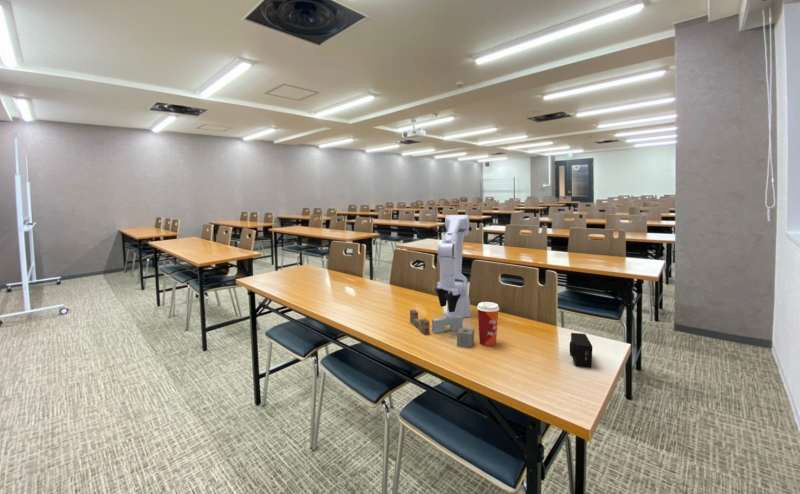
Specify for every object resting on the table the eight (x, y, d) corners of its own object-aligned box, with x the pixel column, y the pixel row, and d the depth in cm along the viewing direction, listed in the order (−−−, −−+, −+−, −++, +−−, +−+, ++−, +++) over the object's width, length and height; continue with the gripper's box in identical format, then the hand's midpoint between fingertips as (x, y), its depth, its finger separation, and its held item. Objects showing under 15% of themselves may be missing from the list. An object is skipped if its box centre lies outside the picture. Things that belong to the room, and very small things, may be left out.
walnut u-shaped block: (410, 321, 152) (410, 310, 152) (414, 321, 153) (414, 309, 152) (424, 334, 137) (424, 322, 137) (429, 334, 138) (429, 321, 137)
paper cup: (495, 349, 123) (495, 309, 121) (473, 344, 127) (473, 305, 125) (501, 341, 130) (502, 303, 128) (481, 337, 134) (481, 300, 132)
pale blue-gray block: (460, 327, 144) (460, 315, 143) (462, 329, 142) (462, 317, 141) (432, 331, 140) (432, 319, 140) (434, 333, 138) (434, 320, 138)
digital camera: (566, 352, 120) (567, 331, 119) (584, 354, 118) (585, 333, 117) (571, 366, 110) (572, 344, 109) (591, 368, 108) (592, 346, 107)
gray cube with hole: (456, 346, 126) (456, 332, 126) (460, 340, 131) (460, 327, 130) (471, 348, 125) (471, 334, 124) (473, 342, 129) (474, 329, 129)
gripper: (430, 271, 144) (430, 304, 146) (445, 279, 130) (446, 315, 132) (446, 270, 146) (446, 303, 148) (463, 277, 132) (463, 313, 134)
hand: (447, 308), depth 140 cm, fingers open, 7 cm apart
